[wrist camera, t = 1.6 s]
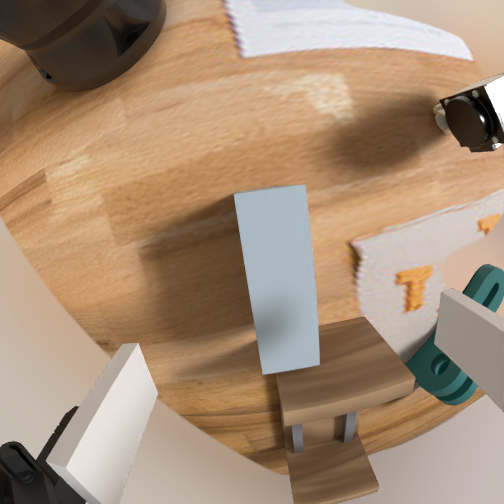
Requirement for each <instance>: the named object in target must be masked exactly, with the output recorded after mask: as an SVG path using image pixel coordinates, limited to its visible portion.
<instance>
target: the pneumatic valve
mask: <svg viewBox="0 0 504 504" xmlns="http://www.w3.org/2000/svg"><path fill="white" fill-rule="evenodd" d="M439 101H440V103H439V104H437V105H435V106H434V107H433V112H434V113H435V114H436V116H435V119H436V123H437V125H438V126H439V127H440V128H441V129H442V130H443V132H444V134H446V135H450V134H451V133H452V134H453V135H454V137H455V138H456V139H457V140H458V141H459V143H460V145H461V147H465V146H466V147H468V148H469V149H470V151H471V152H487V151H494V150H496V149H497V148H498V147H499V146H500V145H501V144H503V143H504V73H501V74H498V75H495V76H492V77H489V78H486V79H483V80H480V81H478V82H476V83H474V84H472V85H470V86H467V87H465V88H463V89H461V90H459V91H457V92H455V93H453V94H451V95H449V96H447V97H445V98H443V99H441V100H439Z"/></svg>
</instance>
